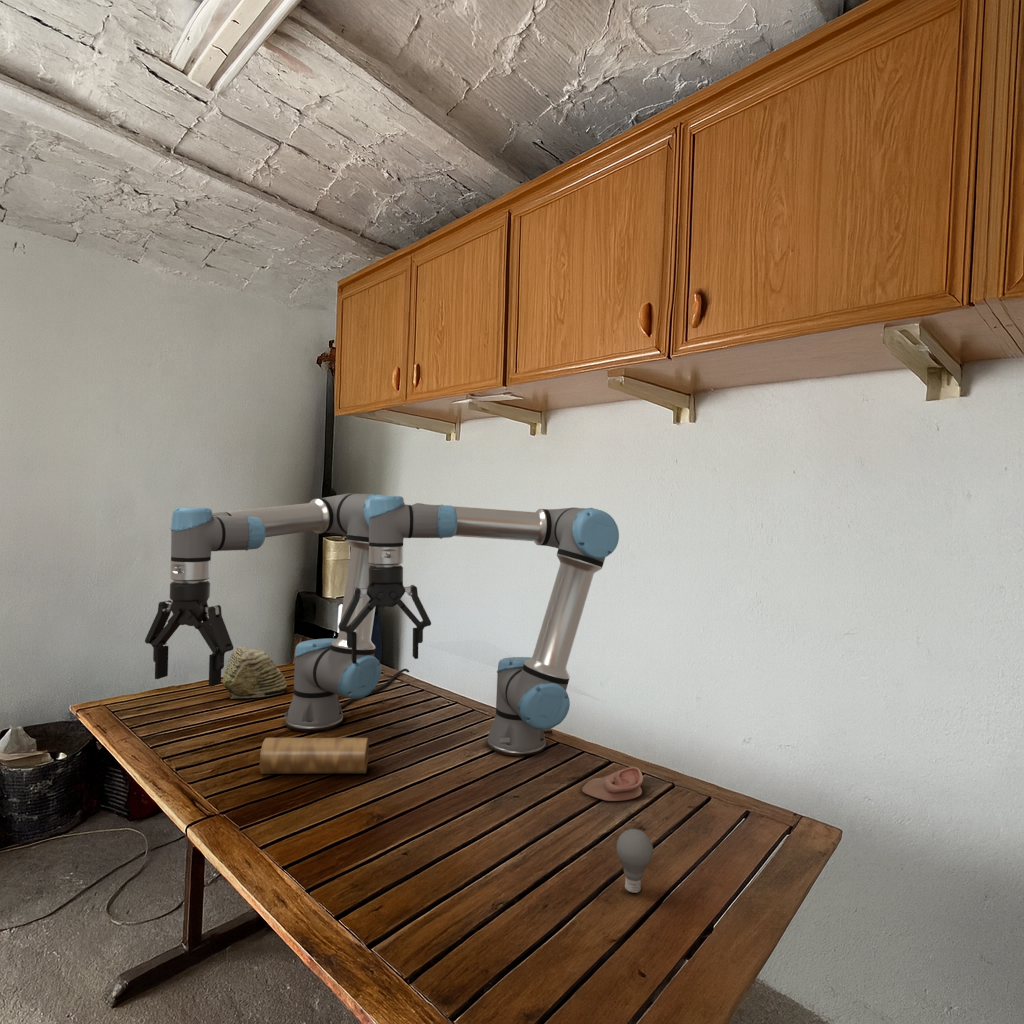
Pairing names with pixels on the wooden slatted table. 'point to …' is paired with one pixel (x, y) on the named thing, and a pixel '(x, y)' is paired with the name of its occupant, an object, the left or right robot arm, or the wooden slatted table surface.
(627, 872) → the light bulb
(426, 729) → the wooden slatted table surface
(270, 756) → the tan wooden cylinder
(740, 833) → the wooden slatted table surface
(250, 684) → the fossil
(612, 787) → the anatomical model
